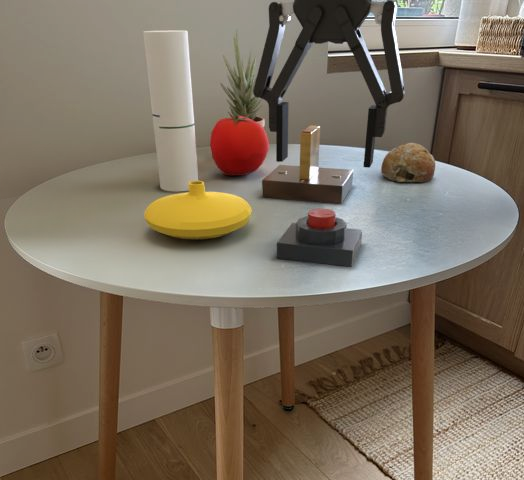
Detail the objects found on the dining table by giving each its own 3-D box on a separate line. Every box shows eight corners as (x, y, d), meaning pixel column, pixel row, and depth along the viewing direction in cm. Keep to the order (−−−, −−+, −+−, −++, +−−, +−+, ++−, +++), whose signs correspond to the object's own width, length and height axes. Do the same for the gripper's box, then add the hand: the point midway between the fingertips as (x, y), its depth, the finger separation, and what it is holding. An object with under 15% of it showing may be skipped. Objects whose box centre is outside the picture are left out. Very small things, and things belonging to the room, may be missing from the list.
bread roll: (378, 198, 105) (383, 164, 99) (380, 163, 111) (384, 129, 104) (431, 200, 104) (439, 166, 97) (430, 165, 109) (438, 130, 103)
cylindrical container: (183, 178, 106) (170, 30, 92) (206, 185, 101) (196, 30, 88) (152, 186, 101) (134, 31, 88) (175, 193, 97) (160, 32, 84)
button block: (361, 244, 76) (363, 216, 74) (351, 266, 69) (354, 237, 67) (291, 237, 78) (292, 210, 76) (276, 258, 72) (276, 229, 70)
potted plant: (226, 148, 128) (221, 26, 115) (266, 149, 127) (266, 26, 114) (219, 158, 119) (213, 28, 106) (262, 159, 118) (261, 28, 105)
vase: (272, 235, 79) (272, 187, 75) (173, 259, 72) (167, 206, 68) (221, 207, 90) (218, 164, 86) (130, 225, 83) (124, 178, 79)
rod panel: (352, 186, 100) (353, 168, 99) (341, 204, 91) (342, 185, 90) (279, 180, 104) (279, 163, 102) (262, 197, 95) (261, 179, 93)
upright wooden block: (308, 169, 99) (310, 123, 95) (318, 169, 99) (320, 124, 94) (299, 179, 93) (300, 131, 89) (309, 179, 93) (311, 132, 89)
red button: (337, 222, 73) (338, 209, 72) (331, 231, 70) (332, 218, 69) (311, 220, 74) (311, 207, 73) (304, 228, 71) (305, 215, 70)
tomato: (225, 164, 115) (223, 107, 109) (276, 169, 111) (277, 110, 105) (200, 179, 105) (195, 117, 99) (254, 184, 102) (253, 121, 96)
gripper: (218, -60, 56) (228, 163, 67) (450, -70, 50) (415, 176, 62) (242, -54, 62) (247, 150, 74) (451, -62, 56) (420, 160, 68)
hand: (324, 161), depth 68 cm, fingers open, 10 cm apart
